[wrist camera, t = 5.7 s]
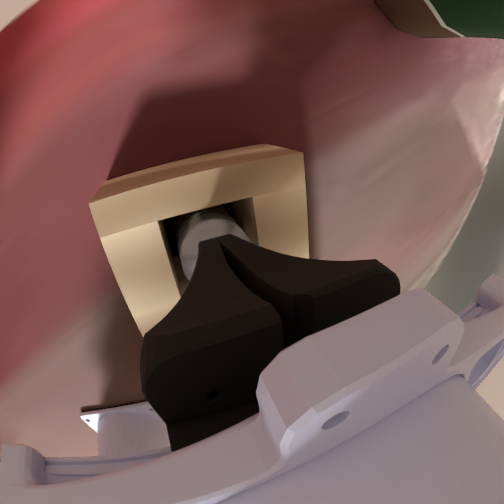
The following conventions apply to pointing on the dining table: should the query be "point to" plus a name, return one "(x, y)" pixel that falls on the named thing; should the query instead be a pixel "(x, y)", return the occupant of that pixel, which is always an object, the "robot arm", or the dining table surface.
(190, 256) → the peg
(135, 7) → the dining table surface
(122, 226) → the socket block
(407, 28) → the beer bottle
